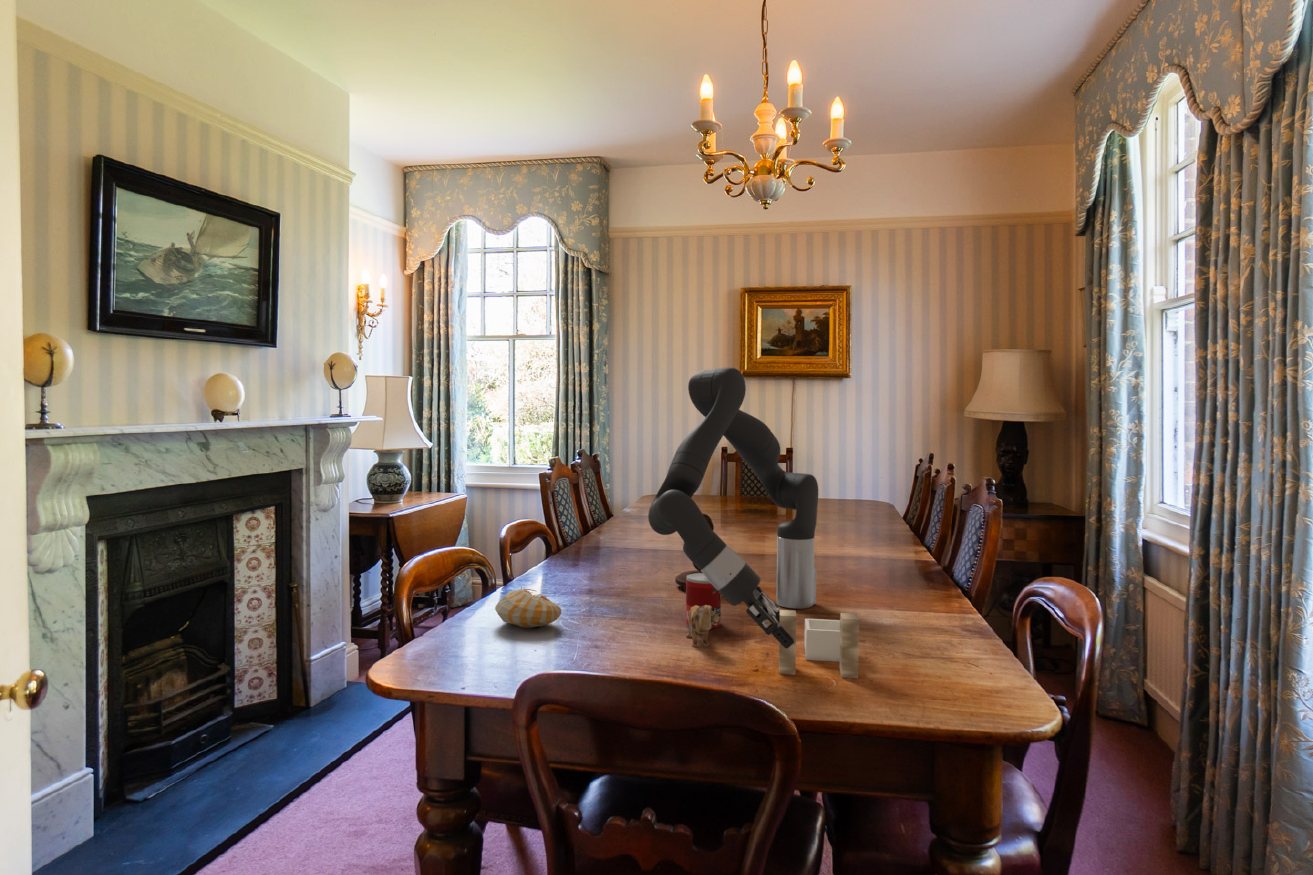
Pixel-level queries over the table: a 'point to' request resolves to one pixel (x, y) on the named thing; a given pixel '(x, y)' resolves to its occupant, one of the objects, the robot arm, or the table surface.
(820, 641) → the open square box
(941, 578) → the table surface
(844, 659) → the beige rectangular block
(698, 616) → the lion figurine
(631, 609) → the table surface
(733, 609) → the table surface
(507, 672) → the table surface
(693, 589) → the canned food
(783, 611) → the tall square pillar
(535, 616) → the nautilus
